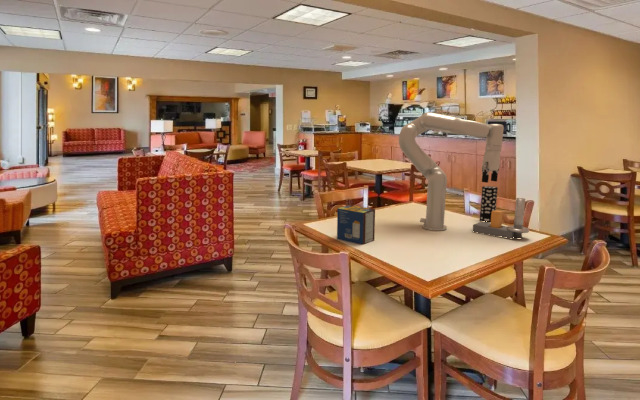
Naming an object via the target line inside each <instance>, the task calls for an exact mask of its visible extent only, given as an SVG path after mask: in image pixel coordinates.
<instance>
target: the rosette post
mask: <svg viewBox="0 0 640 400" xmlns="http://www.w3.org/2000/svg"><path fill="white" fill-rule="evenodd" d="M525 205H526V198H523V197H516V199H515V210H514V221H513V225H508V226H507V230H508V231H511V232H514V238H523V237H522V236H523V234H528V233H530V228H528V227H526V226H524V219H525V208H526V207H525Z"/></svg>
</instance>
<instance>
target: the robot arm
mask: <svg viewBox="0 0 640 400" xmlns="http://www.w3.org/2000/svg"><path fill="white" fill-rule="evenodd" d="M400 129H401V130H400V132H399V135H398V145H399V148H400V150H401V151H402V152H403V154H404V155H405V157H406V158H407V159H408V160H409V161H410V163H412V165H413V166H414V167H415V169H416V170H417V171H418V172H420V173H421V175H422V176H423V177H424V178H425V179H426V180H427V192H426V193H427V195H426V209H425V210H426V211H425V212H426V214H425V218H422V217H421V218H420V220H419V222H420V223H423V224H422V228H423V229H425V230H427V231H428V230H429V231H434V232H435V231H437V232H438V231H439V232H441V231H446V230H447V228H448V227H447V226H446V225H445V212H446V211H445V210H446V198H447V197H446V193H447V185H448V178H447V174H446V173H445V172H444V170H443V169H442V168H441V167H440V165H438V164H437V163H436V162H435V160H434V159H433V158H432V157H431V156H430V155H429V154H427V153H426V152H425V151H424V150H423V149H422V148H421V146H420V145H419V144H418V143H417V141H416V137H418V136H420V135H421V134H423V133H425V132H427V131H428V130H432V131H438V132H441V133H442V132H443V133H447V134H452V135H455V134H456V135H463V136H467V137H473V138H477V139H484V138H486V139H485V149H484V150H485V151H484V155H483V158H482V163H481V172H482V173H481V175H482V176H481V183H486V184H487V183H489V178H490V181H491V182H497V181H498V177H499V170H500V167H501V164H500V162H501V161H500V160H501V152H502V144H503V139H504V138H503V137H504V125H503V124H500V123H490V124H488V123H484V122H479V121H474V120H469V119H466V118H465V119H464V118H460V117H457V116H452V115H446V114H443V113H442V114H440V113H435V112H431V111H428V112H425V113H423V114H422V115H420V116H418V117H416V119H413V120H412V121H410V122H409V123H407V124H404V125H403V126H402V128H400ZM490 172H491V174H490ZM489 174H490V175H489Z"/></svg>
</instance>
